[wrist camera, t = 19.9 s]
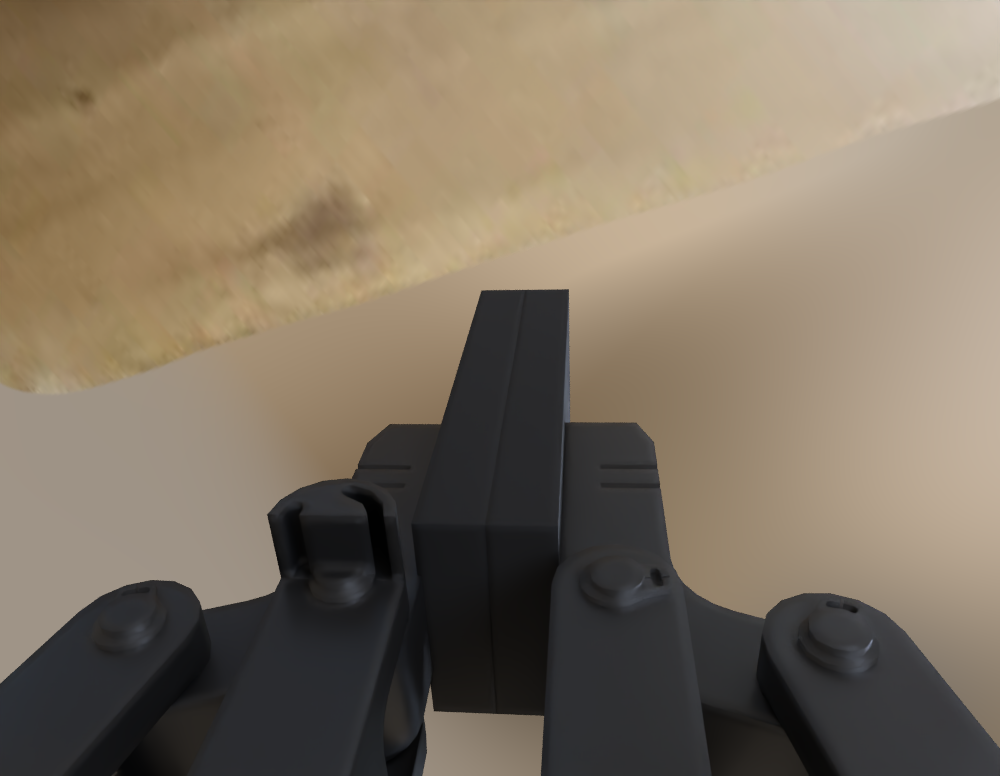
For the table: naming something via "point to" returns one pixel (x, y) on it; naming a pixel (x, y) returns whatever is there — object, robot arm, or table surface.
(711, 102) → the table surface
